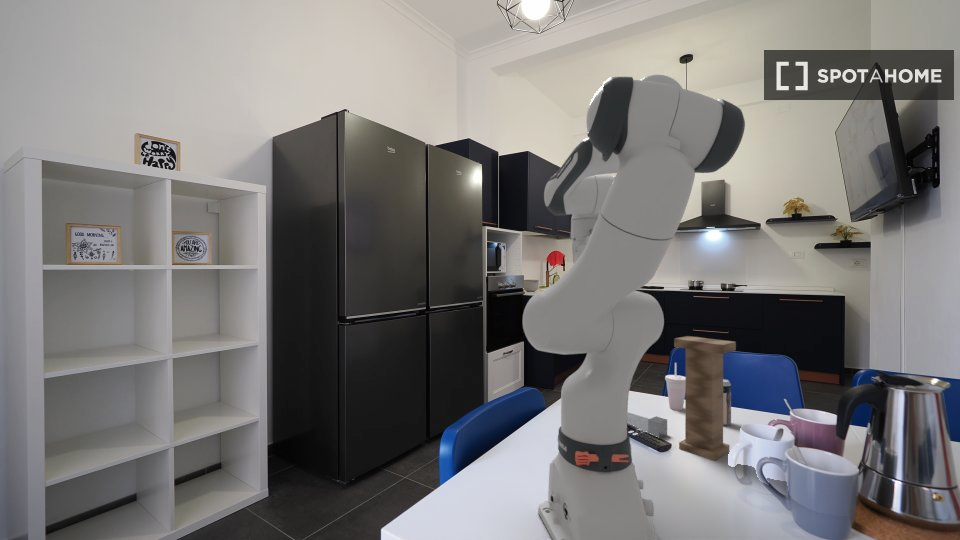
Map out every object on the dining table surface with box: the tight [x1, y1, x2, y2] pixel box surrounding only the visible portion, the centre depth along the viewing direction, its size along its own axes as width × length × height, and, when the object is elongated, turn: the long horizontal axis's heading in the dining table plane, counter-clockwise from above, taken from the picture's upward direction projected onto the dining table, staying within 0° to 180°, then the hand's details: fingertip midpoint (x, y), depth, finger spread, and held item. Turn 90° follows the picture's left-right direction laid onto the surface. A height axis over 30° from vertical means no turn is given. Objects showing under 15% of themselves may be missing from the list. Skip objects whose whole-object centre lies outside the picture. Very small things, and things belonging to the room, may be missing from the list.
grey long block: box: [627, 411, 668, 439], centre depth 112 cm, size 18×4×4 cm, turn 38°
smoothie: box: [664, 362, 686, 412], centre depth 127 cm, size 6×6×14 cm
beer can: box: [723, 378, 732, 426], centre depth 115 cm, size 5×5×12 cm
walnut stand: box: [673, 335, 737, 462], centre depth 97 cm, size 11×8×26 cm
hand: (587, 283), depth 109 cm, fingers open, 8 cm apart
